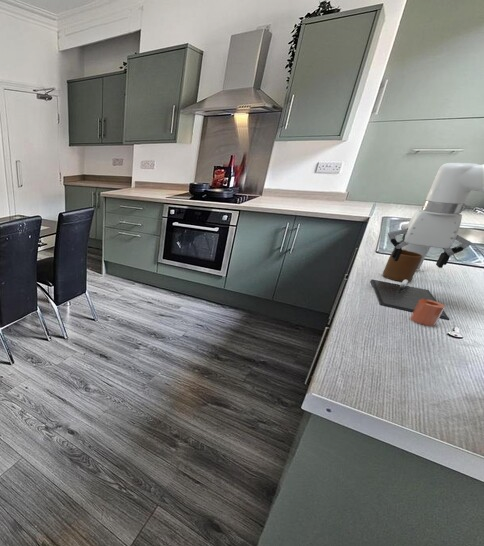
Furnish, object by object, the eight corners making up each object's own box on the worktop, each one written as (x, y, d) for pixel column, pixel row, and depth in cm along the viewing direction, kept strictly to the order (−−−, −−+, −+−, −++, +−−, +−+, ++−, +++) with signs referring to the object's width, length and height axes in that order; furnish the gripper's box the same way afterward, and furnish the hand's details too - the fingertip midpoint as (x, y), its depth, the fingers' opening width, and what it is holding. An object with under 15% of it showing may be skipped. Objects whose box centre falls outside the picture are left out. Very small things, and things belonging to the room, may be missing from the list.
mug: (380, 268, 119) (390, 245, 115) (407, 273, 115) (419, 249, 111) (382, 278, 110) (393, 253, 107) (412, 284, 106) (425, 258, 102)
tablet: (427, 292, 100) (428, 289, 100) (448, 321, 84) (450, 318, 84) (370, 281, 108) (371, 278, 107) (379, 306, 92) (380, 303, 91)
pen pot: (431, 321, 84) (442, 302, 82) (436, 329, 81) (447, 309, 78) (408, 316, 86) (417, 297, 84) (411, 323, 83) (421, 304, 81)
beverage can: (422, 272, 116) (438, 241, 111) (400, 270, 118) (414, 239, 113) (412, 266, 121) (427, 237, 116) (392, 264, 123) (405, 235, 118)
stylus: (405, 287, 98) (408, 282, 106) (404, 284, 98) (407, 279, 106) (400, 288, 99) (403, 283, 107) (399, 284, 99) (402, 279, 107)
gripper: (481, 209, 88) (453, 265, 94) (397, 203, 97) (377, 254, 104) (493, 213, 82) (461, 273, 89) (402, 206, 91) (380, 261, 98)
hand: (416, 263), depth 96 cm, fingers open, 9 cm apart
